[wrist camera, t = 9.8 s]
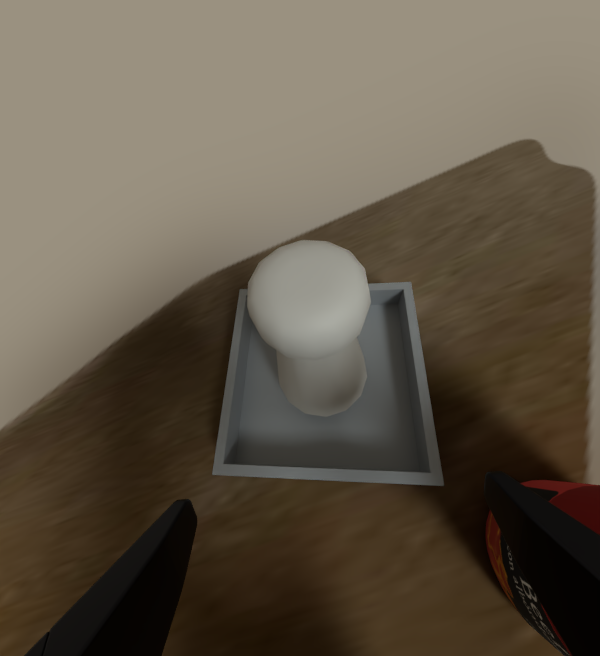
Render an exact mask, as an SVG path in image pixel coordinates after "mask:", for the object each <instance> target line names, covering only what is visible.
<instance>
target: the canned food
mask: <svg viewBox="0 0 600 656" xmlns="http://www.w3.org/2000/svg"><path fill="white" fill-rule="evenodd" d="M521 484H523V485H524V486H526V487H527V488H529V489H530V490H532V491H533V492H535V493H536V494H538V495H539V496H541V497H542V498H544V499H545V500H547V501H549V502H550V503H552V504H553V505H555V506H556V507H558V508H559V509H561V510H562V511H564V512H565V513H567V514H568V515H570V516H571V517H573V518H574V519H576V520H578V521H579V522H581V523H582V524H584V525H585V526H587V527H588V528H590V529H591V530H593V531H594V532H596V533H597V534H599V535H600V485H591V484H581V483H571V482H561V481H551V480H531V481H527V482H523V483H521ZM485 536H486V545H487V551H488V554H489V558H490V561H491V565H492V567H493V569H494V571H495V574H496V576H497V578H498V580H499V582H500V584H501V586H502V588H503V590H504V592H505V593H506V595H507V596H508V598H509V599H510V601H511V602H512V604H513V606H514V607H515V608H516V610H517V611H518V612H519V613H520V614H521V615H522V617H523V618H524V619H525V620H526V621H527V623H528V624H529V625H530V626H532V627H533V628H534V629H535V630H536V631H537V632H538V633H539V634H540V635H541V636H543V637H544V638H545V639H546V640H547V641H548V642H549V643H550V644H552V645H553V646H554V647H555V648H556V649H557V650H558V651H559V652H561V653H562V654H563V655H564V656H572V655H571V653H570V651H569V650H568V648H567V646H566V645H565V643H564V641H563V640H562V638H561V636H560V635H559V633H558V631H557V630H556V628H555V626H554V625H553V623H552V621H551V620H550V618H549V616H548V615H547V613H546V611H545V610H544V608H543V606H542V605H541V603H540V601H539V600H538V598H537V596H536V595H535V593H534V591H533V590H532V588H531V586H530V585H529V583H528V581H527V580H526V578H525V576H524V575H523V573H522V571H521V570H520V568H519V566H518V564H517V563H516V561H515V559H514V557H513V555H512V553H511V551H510V549H509V547H508V545H507V543H506V541H505V539H504V537H503V535H502V533H501V531H500V529H499V527H498V525H497V523H496V521H495V519H494V517H493V514H492V512H491V510H490V511H489V514H488V517H487V521H486V533H485Z"/></svg>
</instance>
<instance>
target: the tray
mask: <svg viewBox="0 0 600 656" xmlns="http://www.w3.org/2000/svg"><path fill="white" fill-rule="evenodd" d="M368 287H369V292H370V299H371V304H370V307H369V310H368V313H367V316H366V319H365V321H364V324H363V327H362V330H361V332H360V334H359V335H358V336H357V339H358V342H359V345H360V348H361V351H362V353H363V356H364V361H365V367H366V372H367V379H366V382H365V385H364V388H363V391H362V394H361V396H360V397H359V398H358V399H357V400H356V401H355V402H354V403H353V404H352V405H351V406H350V407H349V408H348V409H347V410H346V411H343V412H340V413H337V414H334V415H331V416H327V417H324V416H317V415H311V414H305V413H304V412H302V411H301V410H299V409H298V408H297V407H295V406H294V405H293V404H291V403H290V402H289V401H288V400H287V398H286V396H285V394H284V392H283V390H282V388H281V387H280V385H279V376H278V364H277V353H276V349H274V348H273V347H271V346H270V345H268V344H267V343H266V342H265V341H264V340H263V339H262V337H261V336H260V334H259V332H258V330H257V328H256V327H255V325H254V323H253V321H252V319H251V318H250V316H249V312H248V308H247V295H248V289H240V291H239V298H238V304H237V311H236V318H235V325H234V331H233V338H232V345H231V351H230V358H229V365H228V372H227V378H226V385H225V392H224V398H223V405H222V412H221V418H220V425H219V432H218V439H217V445H216V452H215V459H214V465H213V472H212V475H226V476H247V477H267V478H288V479H309V480H330V481H351V482H372V483H392V484H413V485H434V486H444V481H443V475H442V469H441V463H440V457H439V451H438V444H437V438H436V432H435V426H434V420H433V414H432V408H431V402H430V395H429V389H428V383H427V377H426V371H425V365H424V359H423V352H422V346H421V340H420V334H419V328H418V322H417V316H416V310H415V303H414V297H413V291H412V285H411V282H399V283H375V284H368Z"/></svg>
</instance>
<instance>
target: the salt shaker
mask: <svg viewBox="0 0 600 656" xmlns="http://www.w3.org/2000/svg"><path fill="white" fill-rule="evenodd" d="M370 304H371V299H370V292H369V287H368V282H367V277H366V273H365V268H364V267H363V266H362V265H361V264H360V263H359V261H358V260H357V259H356V258H355V257H354V255H353V254H352V253H351V252H350V251H349V250H347V249H344V248H342V247H340V246H337V245H335V244H333V243H330V242H328V241H313V240H301V241H298V242H295V243H292V244H288V245H285V246H282V247H279V248H278V249H276V250H275V251H274V252H272V253H271V254H270V255H268V256H267V257H266V258H264V259H263V260H262V261H260V262H259V264H258V266H257V267H256V269H255V271H254V273H253V275H252V277H251V278H250V280H249V282H248V295H247V308H248V312H249V316H250V318H251V319H252V321H253V323H254V325H255V327H256V328H257V330H258V332H259V334H260V336H261V337H262V339H263V340H264V341H265V342H266V343H267V344H268V345H270V346H271V347H273V348H274V349H276V353H277V364H278V376H279V385H280V387H281V388H282V390H283V392H284V394H285V396H286V398H287V400H288V401H289V402H290V403H291V404H293V405H294V406H295V407H297V408H298V409H299V410H301V411H302V412H304V413H305V414H311V415H317V416H324V417H327V416H331V415H334V414H337V413H340V412H343V411H346V410H347V409H348V408H349V407H350V406H351V405H352V404H353V403H354V402H355V401H356V400H357V399H358V398H359V397H360V396H361V394H362V391H363V388H364V385H365V382H366V379H367V372H366V367H365V361H364V356H363V353H362V351H361V348H360V345H359V342H358V339H357V336H358V335H359V334H360V332H361V330H362V327H363V324H364V321H365V319H366V316H367V313H368V310H369V307H370Z"/></svg>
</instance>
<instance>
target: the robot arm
mask: <svg viewBox="0 0 600 656" xmlns="http://www.w3.org/2000/svg"><path fill="white" fill-rule="evenodd" d="M484 497H485V500H486V502H487V504H488V506H489V508H490V510H491V512H492V514H493V517H494V519H495V521H496V523H497V525H498V527H499V529H500V531H501V533H502V535H503V537H504V539H505V541H506V543H507V545H508V547H509V549H510V551H511V553H512V555H513V557H514V559H515V561H516V563H517V564H518V566H519V568H520V570H521V571H522V573H523V575H524V576H525V578H526V580H527V581H528V583H529V585H530V586H531V588H532V590H533V591H534V593H535V595H536V596H537V598H538V600H539V601H540V603H541V605H542V606H543V608H544V610H545V611H546V613H547V615H548V616H549V618H550V620H551V621H552V623H553V625H554V626H555V628H556V630H557V631H558V633H559V635H560V636H561V638H562V640H563V641H564V643H565V645H566V646H567V648H568V650H569V651H570V653H571V655H572V656H600V535H599V534H597V533H596V532H594V531H593V530H591V529H590V528H588V527H587V526H585V525H584V524H582V523H581V522H579V521H578V520H576V519H574V518H573V517H571V516H570V515H568V514H567V513H565V512H564V511H562V510H561V509H559V508H558V507H556V506H555V505H553V504H552V503H550V502H549V501H547V500H545V499H544V498H542V497H541V496H539V495H538V494H536V493H535V492H533V491H532V490H530V489H529V488H527V487H526V486H524V485H523V484H521V483H520V482H518V481H516V480H515V479H513V478H512V477H510V476H509V475H507V474H506V473H504V472H502V471H493V472H487V473H486V475H485V485H484ZM196 527H197V516H196V513H195V511H194V508H193V505H192V503H191V501H190V500H189V499H184V500H177V501H175V502H174V503H173V504H172V505H171V506H170V507H169V508H168V509H167V510H166V511H165V512H164V513H163V514H162V515H161V516H160V517H159V518H158V519H157V520H156V521H155V522H154V523H153V524H152V526H151V527H150V528H149V529H148V530H147V531H146V532H145V533H144V534H143V535H142V536H141V537H140V538H139V539H138V540H137V541H136V542H135V543H134V544H133V545H132V546H131V547H130V548H129V549H128V550H127V551H126V552H125V553H124V554H123V555H122V556H121V557H120V558H119V559H118V560H117V561H116V562H115V563H114V564H113V565H112V566H111V567H110V568H109V570H108V571H107V572H106V573H105V574H104V575H103V576H102V577H101V578H100V579H99V580H98V581H97V582H96V583H95V584H94V585H93V586H92V587H91V588H90V589H89V590H88V591H87V592H86V593H85V594H84V595H83V596H82V597H81V598H80V599H79V600H78V601H77V602H76V603H75V604H74V605H73V606H72V607H71V608H70V609H69V610H68V611H67V612H66V614H65V615H64V616H63V617H62V618H61V619H60V620H59V621H58V622H57V623H56V624H55V625H54V626H53V627H52V628H51V630H50V632H47V633H46V634H45V635H44V636H43V637H42V638H41V639H40V640H39V641H38V642H37V643H36V644H35V645H34V646H33V647H32V648H31V649H30V650H29V651H28V652H27V653H26V654H25V655H24V656H161V655H162V652H163V649H164V646H165V643H166V639H167V636H168V633H169V630H170V627H171V623H172V620H173V617H174V614H175V611H176V608H177V604H178V601H179V598H180V595H181V591H182V588H183V584H184V580H185V576H186V572H187V567H188V563H189V559H190V554H191V550H192V545H193V541H194V536H195V532H196Z"/></svg>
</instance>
